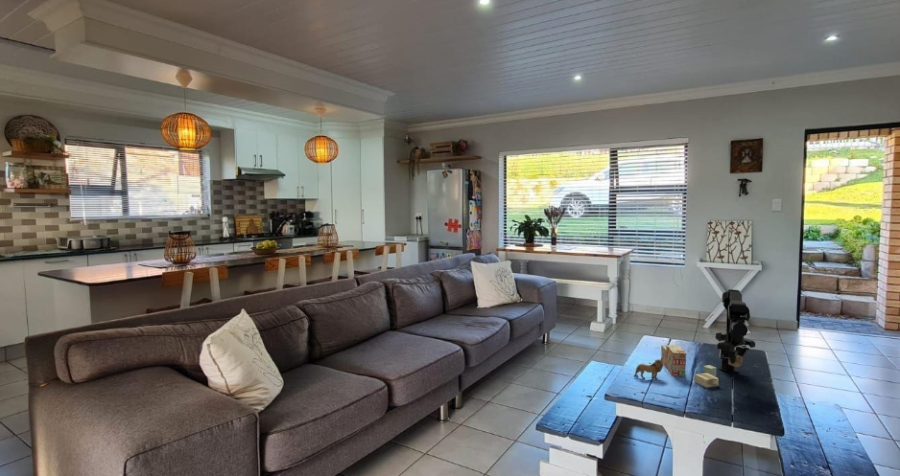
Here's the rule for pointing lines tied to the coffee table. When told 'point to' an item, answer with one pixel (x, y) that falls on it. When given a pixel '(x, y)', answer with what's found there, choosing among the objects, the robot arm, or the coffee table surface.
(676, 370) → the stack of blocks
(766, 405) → the coffee table surface
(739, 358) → the walnut block
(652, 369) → the lion figurine
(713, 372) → the sage block
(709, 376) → the oak block
